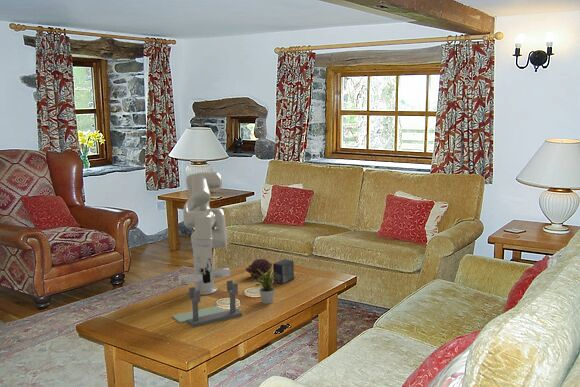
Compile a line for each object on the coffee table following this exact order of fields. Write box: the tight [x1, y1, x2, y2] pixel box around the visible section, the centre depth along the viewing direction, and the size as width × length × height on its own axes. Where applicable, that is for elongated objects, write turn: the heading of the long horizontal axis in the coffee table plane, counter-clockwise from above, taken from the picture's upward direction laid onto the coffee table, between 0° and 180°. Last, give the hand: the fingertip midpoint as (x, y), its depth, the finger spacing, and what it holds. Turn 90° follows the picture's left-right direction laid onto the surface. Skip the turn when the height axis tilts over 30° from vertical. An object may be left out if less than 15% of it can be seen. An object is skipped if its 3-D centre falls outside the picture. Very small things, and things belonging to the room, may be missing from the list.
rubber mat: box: [171, 305, 240, 324], centre depth 275 cm, size 9×29×1 cm, turn 122°
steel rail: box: [177, 267, 232, 285], centre depth 271 cm, size 3×24×3 cm, turn 122°
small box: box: [272, 258, 295, 285], centre depth 319 cm, size 11×6×10 cm, turn 144°
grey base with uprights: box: [186, 279, 243, 328], centre depth 266 cm, size 6×24×16 cm, turn 122°
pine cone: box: [245, 258, 273, 279], centre depth 327 cm, size 18×10×10 cm, turn 133°
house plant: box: [251, 267, 279, 305], centre depth 288 cm, size 14×14×16 cm
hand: (205, 281), depth 272 cm, fingers closed on steel rail, 3 cm apart
